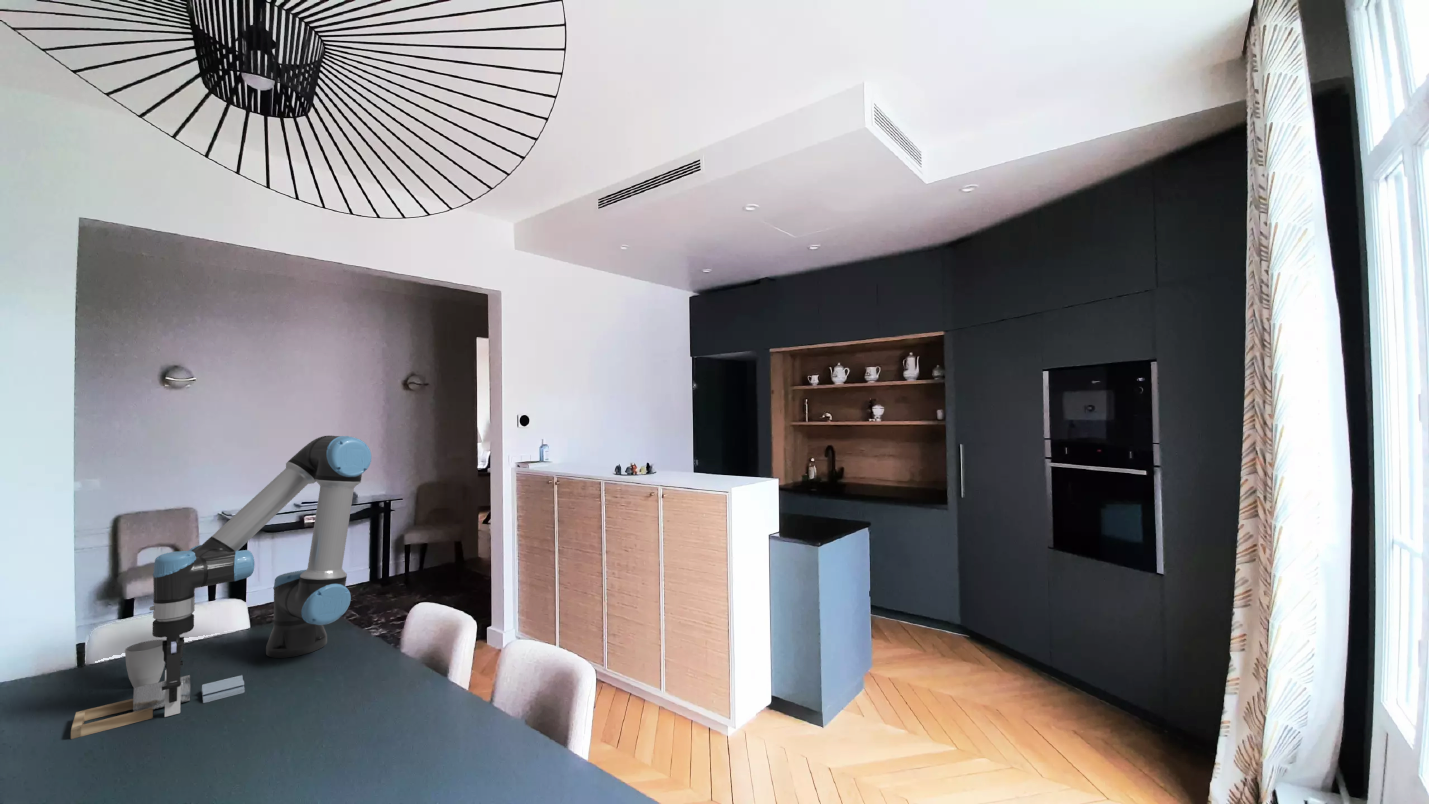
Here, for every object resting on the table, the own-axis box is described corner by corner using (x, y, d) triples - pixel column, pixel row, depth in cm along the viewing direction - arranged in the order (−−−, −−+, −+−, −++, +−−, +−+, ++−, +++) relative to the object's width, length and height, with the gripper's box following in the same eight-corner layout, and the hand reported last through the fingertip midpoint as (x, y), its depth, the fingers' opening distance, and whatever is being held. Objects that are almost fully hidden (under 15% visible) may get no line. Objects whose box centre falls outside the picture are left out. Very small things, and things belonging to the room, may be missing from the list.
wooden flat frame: (76, 720, 137) (76, 712, 137) (153, 701, 146) (153, 693, 146) (70, 739, 129) (70, 730, 129) (152, 718, 138) (152, 709, 138)
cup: (175, 677, 159) (176, 640, 159) (143, 691, 151) (144, 652, 151) (148, 676, 160) (149, 638, 160) (115, 690, 152) (115, 651, 152)
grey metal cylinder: (132, 715, 137) (133, 688, 139) (133, 714, 142) (134, 687, 143) (190, 701, 144) (190, 675, 146) (189, 700, 148) (189, 674, 150)
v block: (201, 691, 151) (201, 682, 151) (241, 681, 156) (241, 672, 156) (203, 703, 145) (203, 693, 145) (244, 692, 151) (244, 682, 151)
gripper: (153, 607, 151) (151, 691, 151) (151, 634, 133) (150, 729, 133) (192, 601, 156) (190, 682, 156) (196, 626, 138) (194, 718, 138)
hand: (172, 704), depth 144 cm, fingers open, 13 cm apart
